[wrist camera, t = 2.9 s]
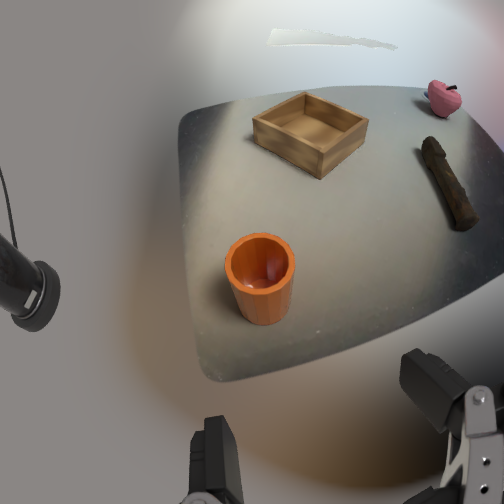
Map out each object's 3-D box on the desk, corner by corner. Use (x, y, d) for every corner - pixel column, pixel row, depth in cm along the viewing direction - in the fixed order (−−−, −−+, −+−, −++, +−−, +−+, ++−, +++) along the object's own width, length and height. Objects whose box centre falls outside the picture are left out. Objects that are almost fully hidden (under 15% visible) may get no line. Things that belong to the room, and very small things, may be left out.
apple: (441, 106, 51) (451, 76, 42) (460, 125, 46) (472, 94, 38) (416, 103, 51) (424, 70, 42) (435, 122, 46) (446, 87, 38)
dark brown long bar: (471, 233, 31) (485, 215, 27) (453, 232, 32) (468, 213, 28) (432, 151, 41) (439, 133, 37) (415, 149, 41) (422, 129, 37)
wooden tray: (254, 142, 44) (252, 117, 39) (303, 113, 48) (304, 91, 44) (320, 180, 38) (323, 153, 34) (364, 142, 42) (369, 119, 38)
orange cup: (228, 301, 30) (211, 263, 22) (263, 268, 32) (259, 221, 24) (264, 336, 28) (259, 309, 20) (300, 299, 29) (309, 260, 22)
